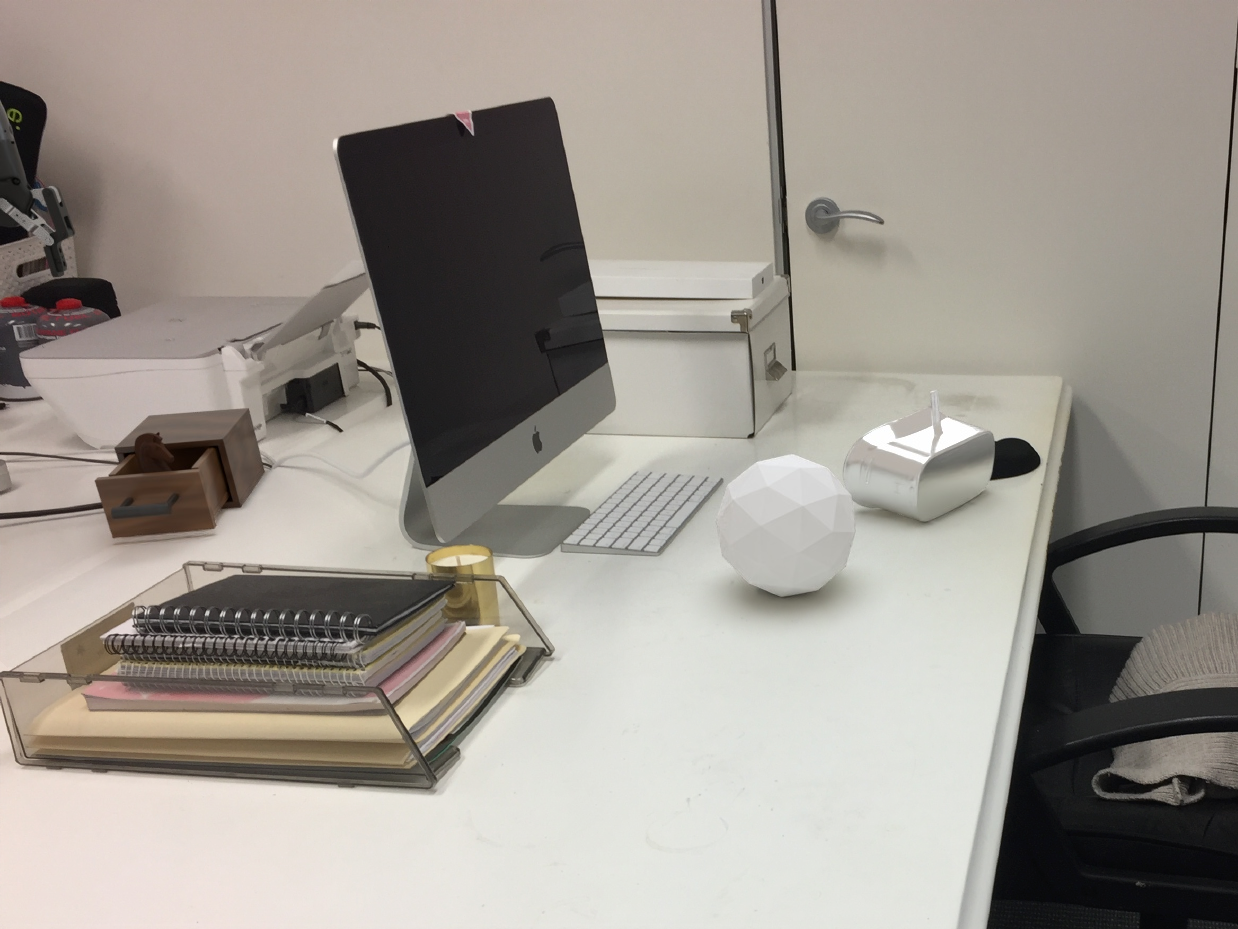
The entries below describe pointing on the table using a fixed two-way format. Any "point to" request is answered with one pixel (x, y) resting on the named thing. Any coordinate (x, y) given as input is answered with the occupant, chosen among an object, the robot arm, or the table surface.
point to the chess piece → (152, 453)
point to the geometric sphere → (786, 525)
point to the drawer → (165, 494)
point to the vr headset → (920, 464)
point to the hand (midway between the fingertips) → (21, 278)
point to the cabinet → (209, 444)
